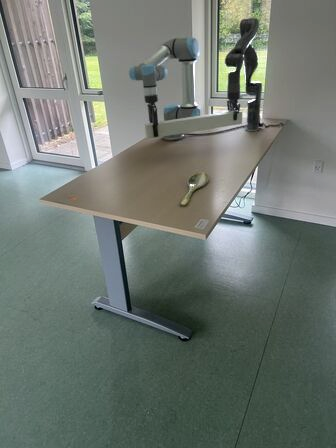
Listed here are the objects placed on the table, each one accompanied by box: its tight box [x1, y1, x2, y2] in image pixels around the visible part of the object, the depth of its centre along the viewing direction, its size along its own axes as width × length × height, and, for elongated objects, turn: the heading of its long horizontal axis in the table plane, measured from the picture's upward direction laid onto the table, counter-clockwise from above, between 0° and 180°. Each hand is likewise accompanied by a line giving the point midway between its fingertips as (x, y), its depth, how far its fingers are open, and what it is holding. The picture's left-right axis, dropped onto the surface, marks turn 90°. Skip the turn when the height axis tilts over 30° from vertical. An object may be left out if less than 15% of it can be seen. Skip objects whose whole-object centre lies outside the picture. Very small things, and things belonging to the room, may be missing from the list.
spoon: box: [180, 171, 210, 207], centre depth 170 cm, size 35×11×2 cm, turn 159°
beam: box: [144, 110, 243, 140], centre depth 204 cm, size 61×5×8 cm, turn 107°
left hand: (154, 135), depth 200 cm, fingers closed on beam, 5 cm apart
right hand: (233, 119), depth 210 cm, fingers closed on beam, 5 cm apart
